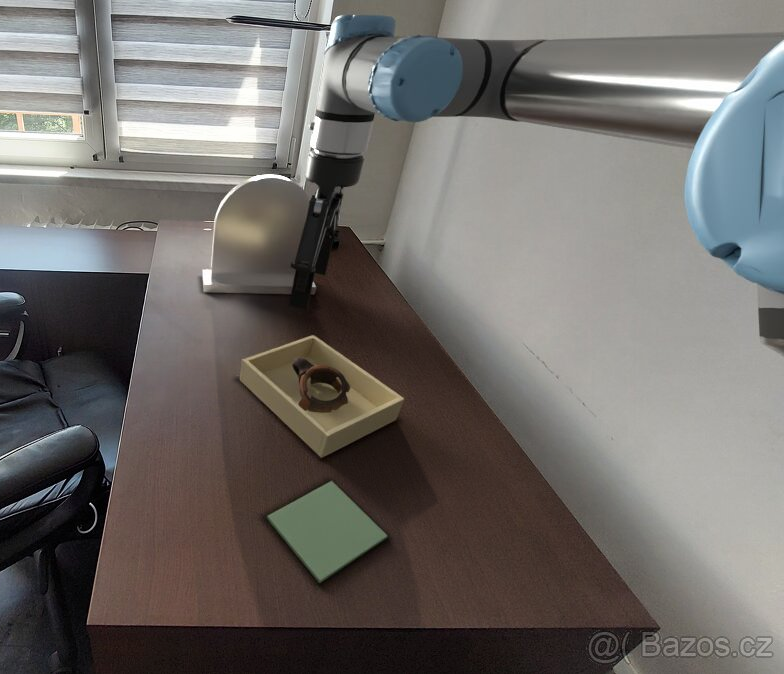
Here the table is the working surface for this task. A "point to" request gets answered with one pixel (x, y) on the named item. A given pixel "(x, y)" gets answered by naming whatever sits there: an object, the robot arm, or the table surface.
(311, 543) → the mat
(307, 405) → the pottery mug
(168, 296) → the table surface
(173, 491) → the table surface
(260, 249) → the award
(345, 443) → the cream yellow tray
